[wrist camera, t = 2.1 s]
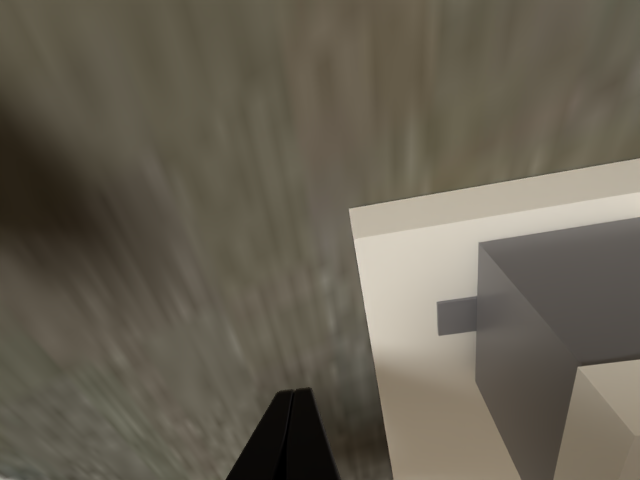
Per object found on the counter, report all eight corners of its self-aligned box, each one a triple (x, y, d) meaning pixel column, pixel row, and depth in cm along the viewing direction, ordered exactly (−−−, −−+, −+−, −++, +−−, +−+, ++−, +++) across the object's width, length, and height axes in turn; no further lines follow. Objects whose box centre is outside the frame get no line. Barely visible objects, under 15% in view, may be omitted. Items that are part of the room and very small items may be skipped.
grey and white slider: (665, 205, 8) (1095, 389, 4) (617, 368, 10) (834, 598, 6) (470, 236, 8) (635, 436, 4) (468, 386, 11) (568, 612, 6)
